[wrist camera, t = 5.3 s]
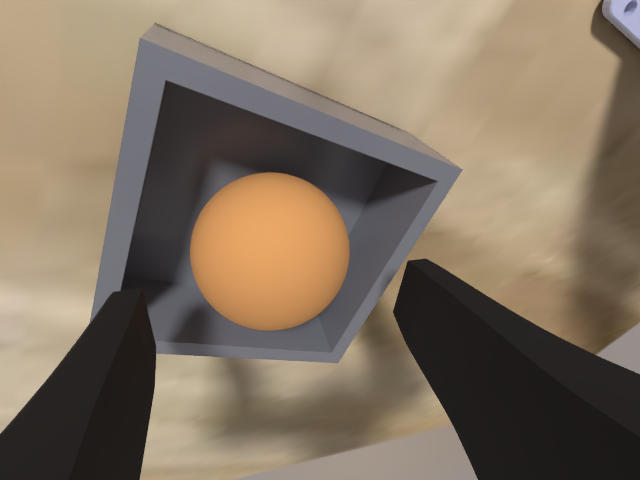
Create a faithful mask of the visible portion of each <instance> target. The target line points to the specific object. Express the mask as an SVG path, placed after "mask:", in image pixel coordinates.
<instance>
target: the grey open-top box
mask: <svg viewBox="0 0 640 480" xmlns="http://www.w3.org/2000/svg"><path fill="white" fill-rule="evenodd" d="M462 170H463V169H461V168H460V167H458V166H457V165H455V164H454V163H452V162H451V161H450V160H448V159H447V158H445V157H444V156H442V155H441V154H439V153H438V152H436V151H435V150H434V149H432V148H431V147H429V146H428V145H426V144H425V143H423V142H422V141H421V140H419V139H418V138H416V137H415V136H413V135H412V134H410V133H408V132H406V131H404V130H401V129H399V128H397V127H394V126H392V125H390V124H387V123H385V122H383V121H380V120H378V119H376V118H374V117H371V116H369V115H367V114H364V113H362V112H360V111H357V110H355V109H353V108H350V107H348V106H346V105H343V104H341V103H339V102H337V101H334V100H332V99H330V98H327V97H325V96H323V95H320V94H318V93H316V92H313V91H311V90H309V89H306V88H304V87H302V86H300V85H297V84H295V83H293V82H290V81H288V80H286V79H283V78H281V77H279V76H276V75H274V74H272V73H269V72H267V71H265V70H263V69H260V68H258V67H256V66H253V65H251V64H249V63H246V62H244V61H242V60H239V59H237V58H235V57H232V56H230V55H228V54H226V53H223V52H221V51H219V50H216V49H214V48H212V47H209V46H207V45H205V44H202V43H200V42H198V41H195V40H193V39H191V38H189V37H186V36H184V35H182V34H179V33H177V32H175V31H172V30H170V29H168V28H165V27H163V26H161V25H158V24H156V23H155V24H154V25H153V26H152V27H151V28H150V29H149V30H148V31H147V32H146V33H145V34H143V35H142V36H141V37H140V41H139V46H138V52H137V58H136V63H135V69H134V75H133V80H132V86H131V92H130V97H129V103H128V109H127V115H126V120H125V126H124V132H123V137H122V143H121V149H120V154H119V160H118V166H117V171H116V177H115V183H114V188H113V194H112V200H111V205H110V211H109V217H108V223H107V228H106V234H105V240H104V245H103V251H102V257H101V262H100V268H99V274H98V279H97V285H96V291H95V296H94V302H93V308H92V313H91V319H90V323H91V321H92V320H93V318H94V317H95V315H96V314H97V313H98V311H99V310H100V308H101V307H102V305H103V304H104V303H105V301H106V300H107V298H108V297H109V295H111V294H112V293H113V292H115V291H124V290H134V289H143V293H144V298H145V302H146V306H147V310H148V314H149V318H150V323H151V327H152V331H153V335H154V339H155V343H156V353H157V354H176V355H194V356H213V357H232V358H251V359H270V360H289V361H308V362H327V363H338V362H339V361H340V359H341V358H342V356H343V354H344V353H345V351H346V350H347V348H348V347H349V345H350V344H351V342H352V340H353V339H354V337H355V336H356V334H357V333H358V331H359V330H360V328H361V327H362V325H363V323H364V322H365V320H366V319H367V317H368V316H369V314H370V313H371V311H372V309H373V308H374V306H375V305H376V303H377V302H378V300H379V299H380V297H381V295H382V294H383V292H384V291H385V289H386V288H387V286H388V285H389V283H390V282H391V280H392V278H393V277H394V275H395V274H396V272H397V271H398V269H399V268H400V266H401V264H402V263H403V261H404V260H405V258H406V257H407V255H408V254H409V252H410V251H411V249H412V247H413V246H414V244H415V243H416V241H417V240H418V238H419V237H420V235H421V233H422V232H423V230H424V229H425V227H426V226H427V224H428V223H429V221H430V220H431V218H432V216H433V215H434V213H435V212H436V210H437V209H438V207H439V206H440V204H441V202H442V201H443V199H444V198H445V196H446V195H447V193H448V192H449V190H450V189H451V187H452V185H453V184H454V182H455V181H456V179H457V178H458V176H459V175H460V173H461V171H462ZM267 172H273V173H283V174H288V175H292V176H295V177H298V178H301V179H303V180H305V181H307V182H309V183H311V184H312V185H314V186H316V187H317V188H318V189H320V190H321V191H322V192H323V193H324V194H325V195H327V197H328V198H329V199H330V200H331V201H332V202H333V204H334V205H335V206H336V208H337V209H338V211H339V213H340V214H341V216H342V218H343V221H344V223H345V226H346V229H347V233H348V238H349V247H350V257H349V265H348V270H347V274H346V277H345V279H344V282H343V284H342V286H341V288H340V290H339V292H338V294H337V295H336V296H335V298H334V299H333V300H332V302H331V303H330V304H329V305H328V306H327V307H326V308H325V309H324V310H323V311H322V312H321V313H319V314H318V315H317V316H315V317H314V318H312V319H310V320H309V321H307V322H305V323H303V324H301V325H298V326H295V327H292V328H289V329H283V330H275V331H263V330H255V329H251V328H247V327H244V326H241V325H238V324H236V323H234V322H232V321H230V320H229V319H227V318H226V317H224V316H222V315H221V314H220V313H219V312H217V311H216V310H215V309H214V308H213V307H212V306H211V305H210V304H209V302H208V301H207V300H206V299H205V297H204V296H203V294H202V292H201V291H200V289H199V288H198V285H197V283H196V281H195V278H194V275H193V272H192V267H191V260H190V245H191V237H192V232H193V229H194V226H195V223H196V221H197V219H198V217H199V214H200V212H201V211H202V209H203V208H204V206H205V205H206V204H207V203H208V201H209V200H210V199H211V198H212V197H213V196H214V195H215V194H216V193H217V192H218V191H219V190H221V189H222V188H223V187H225V186H226V185H228V184H229V183H231V182H233V181H235V180H237V179H239V178H242V177H245V176H248V175H252V174H257V173H267Z"/></svg>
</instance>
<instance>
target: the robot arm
mask: <svg viewBox="0 0 640 480" xmlns="http://www.w3.org/2000/svg"><path fill="white" fill-rule="evenodd" d="M624 9H625V10H624ZM602 13H603V15H604V17H605V18H606V19H607V20H609V21H610V22H611V23H612V24H613V25H614V26H615V27H616V28H617V29H618V30H620V31H621V32H622V33H623V34H624V35H625V36H626V37H627V38H628V39H629V40H631V41H632V42H633V43H634V44H635V45H636V46H637V47H638V48H639V49H640V0H604V2H603V5H602ZM393 313H394V316H395V318H396V321H397V323H398V326H399V328H400V331H401V333H402V335H403V338H404V340H405V342H406V344H407V346H408V348H409V349H410V351H411V353H412V355H413V356H414V358H415V360H416V362H417V363H418V365H419V367H420V369H421V370H422V372H423V374H424V375H425V377H426V379H427V381H428V382H429V384H430V386H431V387H432V389H433V391H434V393H435V394H436V396H437V398H438V399H439V401H440V403H441V404H442V406H443V408H444V410H445V411H446V413H447V415H448V417H449V419H450V421H451V422H452V424H453V426H454V428H455V430H456V432H457V434H458V436H459V439H460V441H461V443H462V445H463V447H464V449H465V451H466V454H467V456H468V458H469V460H470V462H471V465H472V467H473V469H474V471H475V474H476V476H477V478H478V480H640V374H638V373H635V372H633V371H631V370H628V369H626V368H624V367H621V366H619V365H617V364H614V363H612V362H610V361H607V360H605V359H603V358H601V357H599V356H596V355H594V354H592V353H590V352H588V351H586V350H584V349H582V348H580V347H578V346H576V345H574V344H572V343H570V342H567V341H565V340H563V339H561V338H559V337H557V336H555V335H554V334H552V333H550V332H548V331H546V330H544V329H542V328H541V327H539V326H537V325H535V324H533V323H532V322H530V321H528V320H526V319H525V318H523V317H521V316H519V315H518V314H516V313H514V312H512V311H511V310H509V309H507V308H506V307H504V306H502V305H501V304H499V303H498V302H496V301H494V300H493V299H491V298H489V297H488V296H486V295H485V294H483V293H481V292H480V291H478V290H477V289H475V288H473V287H472V286H470V285H469V284H467V283H466V282H464V281H462V280H461V279H459V278H458V277H456V276H455V275H453V274H451V273H450V272H448V271H447V270H445V269H443V268H442V267H440V266H438V265H437V264H435V263H433V262H431V261H429V260H428V259H420V260H410V261H408V262H407V265H406V269H405V272H404V276H403V279H402V283H401V286H400V289H399V293H398V296H397V300H396V303H395V307H394V310H393ZM155 369H156V343H155V339H154V335H153V331H152V327H151V323H150V318H149V314H148V310H147V306H146V302H145V298H144V293H143V289H134V290H124V291H115V292H113V293H112V294H111V295H109V297H108V298H107V300H106V301H105V303H104V304H103V305H102V307H101V308H100V310H99V311H98V313H97V314H96V315H95V317H94V318H93V320H92V321H91V323H90V324H89V325H88V327H87V328H86V329H85V331H84V332H83V334H82V335H81V336H80V338H79V339H78V340H77V342H76V343H75V344H74V346H73V347H72V348H71V349H70V351H69V352H68V353H67V355H66V356H65V357H64V359H63V360H62V361H61V362H60V364H59V365H58V366H57V368H56V369H55V370H54V371H53V373H52V374H51V375H50V376H49V378H48V379H47V380H46V381H45V383H44V384H43V385H42V386H41V387H40V388H39V390H38V391H37V392H36V393H35V394H34V396H33V397H32V398H31V399H30V400H29V401H28V403H27V404H26V405H25V406H24V407H23V409H22V410H21V411H20V412H19V413H18V414H17V416H16V417H15V418H14V419H13V420H12V421H11V422H10V424H9V425H8V426H7V427H6V428H5V429H4V430H3V431H2V432H1V434H0V480H140V474H141V467H142V461H143V455H144V449H145V443H146V437H147V431H148V425H149V419H150V413H151V407H152V400H153V394H154V387H155Z"/></svg>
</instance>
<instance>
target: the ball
mask: <svg viewBox="0 0 640 480" xmlns="http://www.w3.org/2000/svg"><path fill="white" fill-rule="evenodd" d="M349 257H350V247H349V238H348V233H347V229H346V226H345V223H344V221H343V218H342V216H341V214H340V213H339V211H338V209H337V208H336V206H335V205H334V204H333V202H332V201H331V200H330V199H329V198H328V197H327V195H325V194H324V193H323V192H322V191H321V190H320V189H318V188H317V187H316V186H314V185H312V184H311V183H309V182H307V181H305V180H303V179H301V178H298V177H295V176H292V175H288V174H283V173H273V172H267V173H257V174H252V175H248V176H245V177H242V178H239V179H237V180H235V181H233V182H231V183H229V184H228V185H226V186H225V187H223V188H222V189H221V190H219V191H218V192H217V193H216V194H215V195H214V196H213V197H212V198H211V199H210V200H209V201H208V203H207V204H206V205H205V206H204V208H203V209H202V211H201V212H200V214H199V217H198V219H197V221H196V223H195V226H194V229H193V232H192V237H191V245H190V260H191V267H192V272H193V275H194V278H195V281H196V283H197V285H198V288H199V289H200V291H201V292H202V294H203V296H204V297H205V299H206V300H207V301H208V302H209V304H210V305H211V306H212V307H213V308H214V309H215V310H216V311H217V312H219V313H220V314H221V315H222V316H224V317H226V318H227V319H229V320H230V321H232V322H234V323H236V324H238V325H241V326H244V327H247V328H251V329H255V330H263V331H275V330H283V329H289V328H292V327H295V326H298V325H301V324H303V323H305V322H307V321H309V320H310V319H312V318H314V317H315V316H317V315H318V314H319V313H321V312H322V311H323V310H324V309H325V308H326V307H327V306H328V305H329V304H330V303H331V302H332V300H333V299H334V298H335V296H336V295H337V294H338V292H339V290H340V288H341V286H342V284H343V282H344V279H345V277H346V274H347V270H348V265H349Z"/></svg>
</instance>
